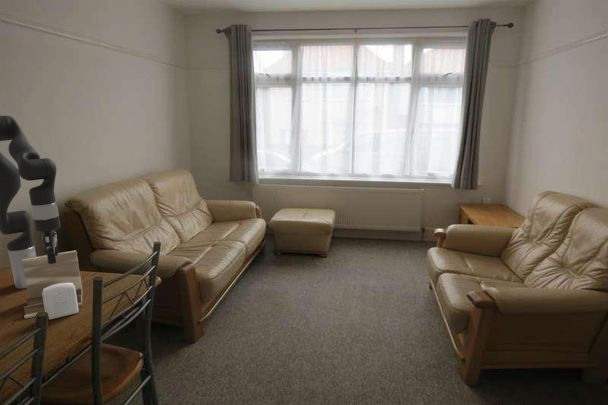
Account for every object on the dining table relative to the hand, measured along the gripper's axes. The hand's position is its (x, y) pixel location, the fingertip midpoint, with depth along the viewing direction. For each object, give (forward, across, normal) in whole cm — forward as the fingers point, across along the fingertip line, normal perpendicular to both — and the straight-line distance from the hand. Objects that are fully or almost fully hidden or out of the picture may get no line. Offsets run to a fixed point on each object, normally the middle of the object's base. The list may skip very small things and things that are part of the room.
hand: (53, 259), depth 132 cm
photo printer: (+22, 0, 0) cm, 22 cm away
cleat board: (+22, -12, -3) cm, 25 cm away
